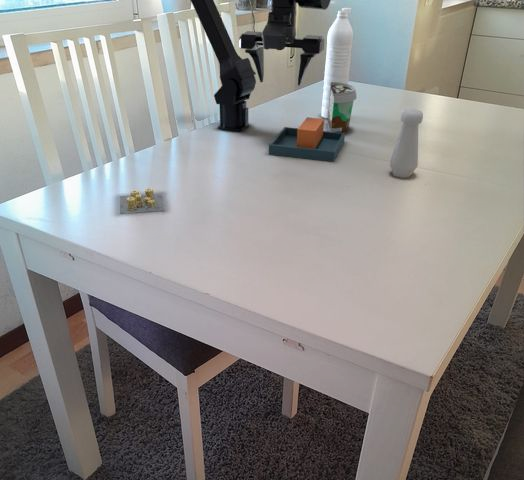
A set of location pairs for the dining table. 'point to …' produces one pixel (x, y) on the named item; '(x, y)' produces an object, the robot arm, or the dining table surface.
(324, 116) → the water bottle
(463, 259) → the dining table surface
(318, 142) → the eraser
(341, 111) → the food container
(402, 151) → the salt shaker
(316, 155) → the dark teal tray
